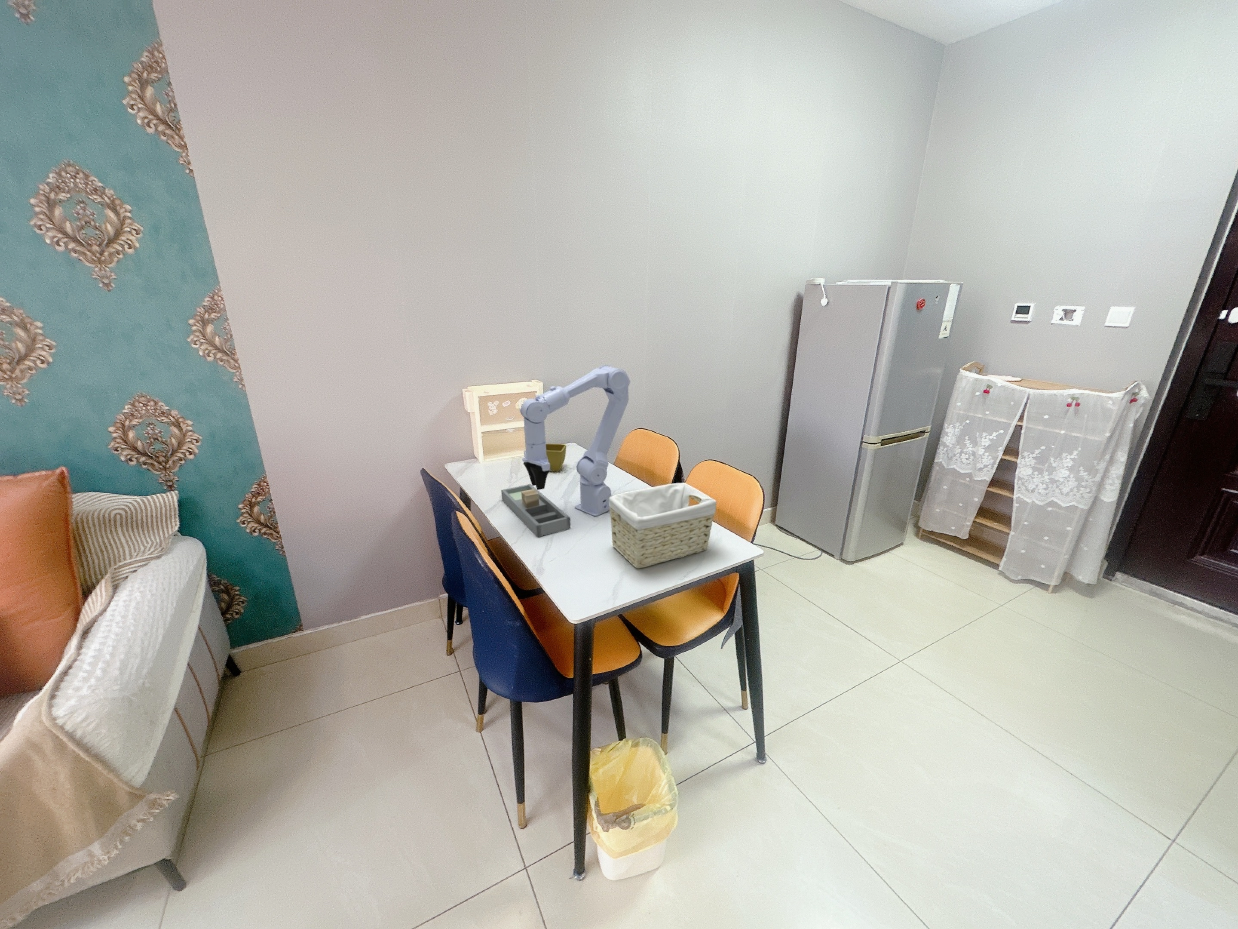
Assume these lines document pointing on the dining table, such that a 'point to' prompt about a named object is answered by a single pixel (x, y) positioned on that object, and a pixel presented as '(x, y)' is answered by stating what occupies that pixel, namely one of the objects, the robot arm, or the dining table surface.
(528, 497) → the maple block
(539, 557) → the dining table surface
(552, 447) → the flower pot
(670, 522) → the storage basket
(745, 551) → the dining table surface
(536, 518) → the box
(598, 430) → the robot arm
